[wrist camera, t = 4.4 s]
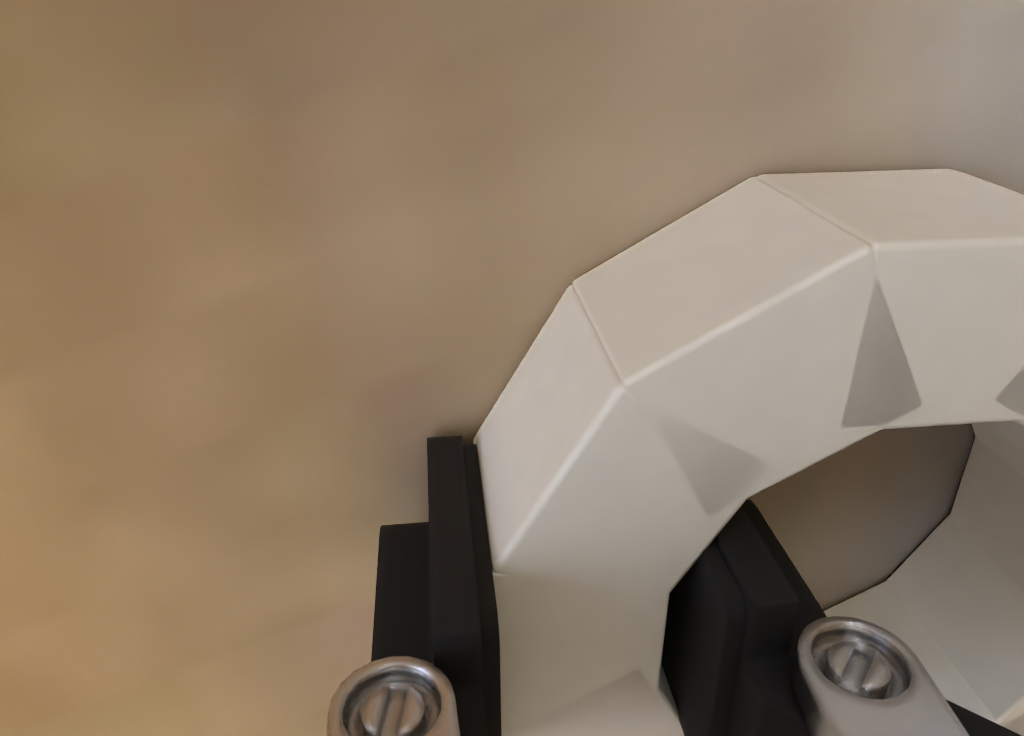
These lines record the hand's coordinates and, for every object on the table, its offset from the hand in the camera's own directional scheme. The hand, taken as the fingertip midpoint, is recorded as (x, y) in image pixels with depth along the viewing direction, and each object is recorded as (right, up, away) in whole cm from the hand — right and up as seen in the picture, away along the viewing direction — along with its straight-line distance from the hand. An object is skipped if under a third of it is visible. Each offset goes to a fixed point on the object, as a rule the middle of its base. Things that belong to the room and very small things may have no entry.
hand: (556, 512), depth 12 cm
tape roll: (+4, 0, +1) cm, 4 cm away
